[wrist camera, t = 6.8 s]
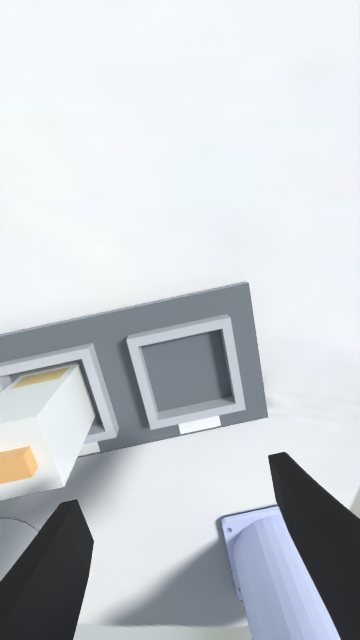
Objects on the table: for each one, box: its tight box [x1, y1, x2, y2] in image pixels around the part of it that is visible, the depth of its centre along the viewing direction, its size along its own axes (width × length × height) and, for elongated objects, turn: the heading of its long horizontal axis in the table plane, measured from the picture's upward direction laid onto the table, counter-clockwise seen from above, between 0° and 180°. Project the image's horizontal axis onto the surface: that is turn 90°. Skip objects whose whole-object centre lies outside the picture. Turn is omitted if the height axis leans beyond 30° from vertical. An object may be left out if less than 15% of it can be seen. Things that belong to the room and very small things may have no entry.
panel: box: [0, 282, 268, 458], centre depth 18 cm, size 10×19×2 cm, turn 102°
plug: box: [0, 363, 96, 501], centre depth 15 cm, size 4×4×7 cm
